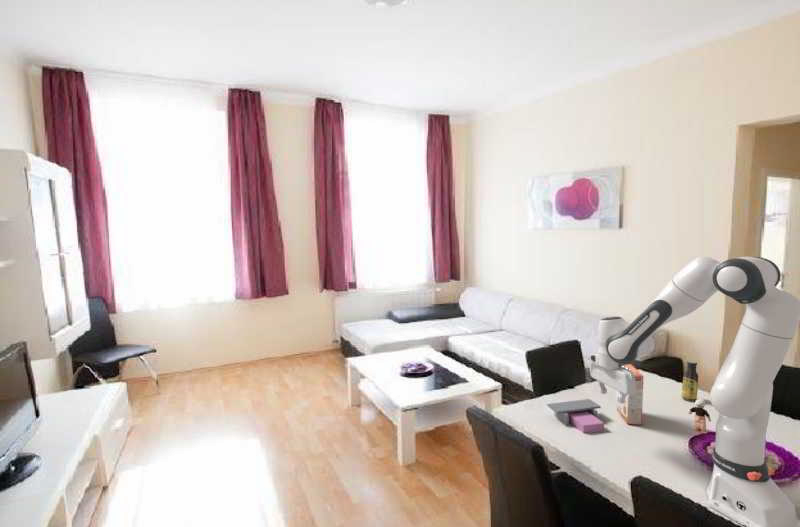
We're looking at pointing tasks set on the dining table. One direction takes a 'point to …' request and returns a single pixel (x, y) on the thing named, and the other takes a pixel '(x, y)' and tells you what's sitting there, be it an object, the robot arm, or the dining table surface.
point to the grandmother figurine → (700, 416)
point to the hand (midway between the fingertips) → (612, 397)
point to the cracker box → (632, 400)
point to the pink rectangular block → (585, 421)
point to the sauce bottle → (690, 382)
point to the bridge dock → (573, 408)
